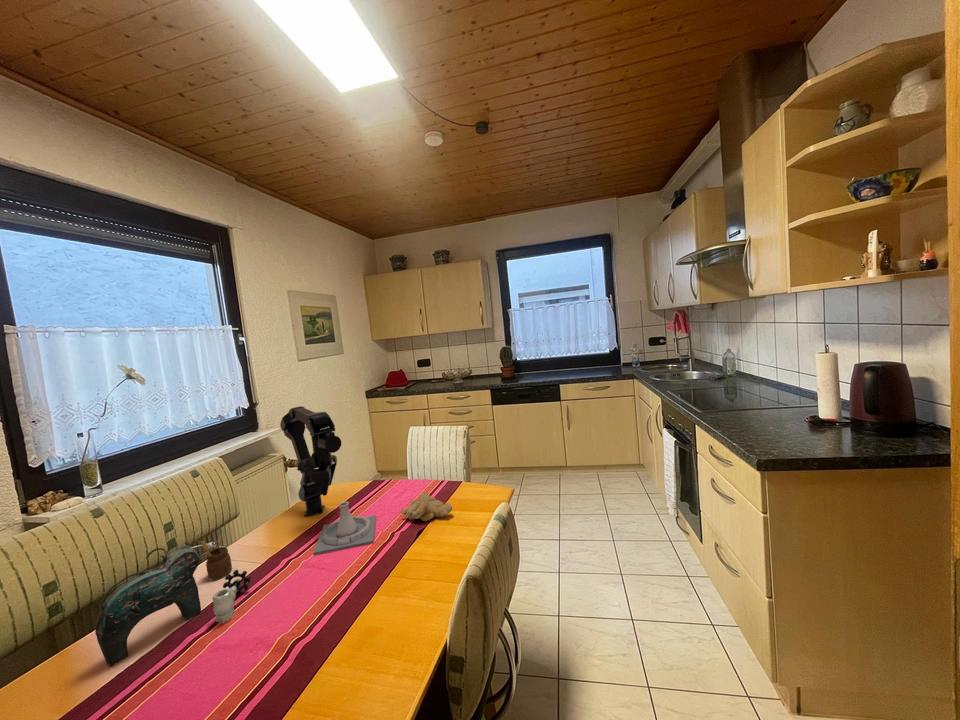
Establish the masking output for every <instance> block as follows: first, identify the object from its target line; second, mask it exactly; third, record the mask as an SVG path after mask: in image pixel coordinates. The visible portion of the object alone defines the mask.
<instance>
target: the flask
mask: <svg viewBox="0 0 960 720" xmlns="http://www.w3.org/2000/svg"><path fill="white" fill-rule="evenodd" d="M349 504H350V503H349V501H342V502H340V503H339V504H338V508H339V519H338V520H339V524H338V528H337V532H336V536H337V537H347V536H351V535H353V534H354V533H356V532H357V531H358V526H357V524H356V522H355V521H354V519H353V517H352V516H353V515H352V514H351V512H350V509H349V508H350V507H349Z"/></svg>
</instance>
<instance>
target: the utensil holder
mask: <svg viewBox="0 0 960 720" xmlns="http://www.w3.org/2000/svg"><path fill="white" fill-rule="evenodd" d="M222 537H223V538H222ZM226 537H227V535H226V534H221V535H220V536H219V537H218V539H217V542H220V540H225V539H226ZM200 542H201V544H202V546H203V549H204V550H205V551H206V552H207V553H206V564H205V565H206V573H207V578H208V580H212V581H215V580H219V579H223V578H225V577H226V576H227V575H230V573H231V572H232V569H233V566H232V560H231V554H230V553H229V550H228V548H227V546H226V545H228V542H225V543H223V546H217V548H215V549H211V550H210V549H209V547H208V545H207V544H206V541H203V540H201V541H200Z"/></svg>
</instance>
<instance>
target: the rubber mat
mask: <svg viewBox="0 0 960 720" xmlns="http://www.w3.org/2000/svg"><path fill="white" fill-rule="evenodd" d="M365 517H366V518H368V519H369V520H370V522H371V528H370V531H369V532H368V533H367V534H366V535H365V536H364V537H363V538H361V539H359V540H356V541H354V542H352V543H348V544H343V545H339V546H338V545H337V546H336V545H327V544H326V543H325V542H324V541H322V532H323V530H324V528H326V527H327V526H328V525H330V524H331V523H325V524H324V525H323V526H322V529H321V532H320V534H319V536H318V540H317V542H316V545H315V547H314V549H313V552H312V554H313V556H316V555H322V554H326V553H331V552H336V551H341V550H346V549H351V548H357V547H362V546H366V545H370V544H374V542H375V532H376V525H377V524H376V523H377V515H369V516H365ZM356 524H357V526H358V531H357V532H359V531H361V530H362V529H363V528H364V527H365V526H366V525H365V524H363V523H356ZM337 528H338V527H337ZM337 528H335V529H333V530H332V531H331V532H330V533H328V536H329V537H332V538H342V537H337V536H336V532H337ZM357 532H356V533H357ZM354 534H355V533H354Z"/></svg>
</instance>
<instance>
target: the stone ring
mask: <svg viewBox="0 0 960 720" xmlns="http://www.w3.org/2000/svg"><path fill="white" fill-rule="evenodd" d="M352 517H353V519H354V521H355V522H356V523H363V524H365V525H366V526H365V527H364V528H363V529H362V530H361V531H359V532H357V533H355V534H353V535H351V536H347V537H342V538H332V537H329V536H328V533H330V532H331V531H332V530H333V529H335V528H337V527H338V524H339V519H338V520H334V521H333V522H331V523H329V524H330V525H328V526H327V527H326V528H324V530H323V532H322V541H324V542H325V543H326V544H327V545H336V546H337V545H338V546H339V545H343V544H348V543H352V542H354V541H356V540H359V539H361V538H363V537H364V536H365V535H366V534H367V533H368V532H369V531H370V528H371V522H370V520H369V519H368V518H366V517H367V516H361V515H352Z"/></svg>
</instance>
